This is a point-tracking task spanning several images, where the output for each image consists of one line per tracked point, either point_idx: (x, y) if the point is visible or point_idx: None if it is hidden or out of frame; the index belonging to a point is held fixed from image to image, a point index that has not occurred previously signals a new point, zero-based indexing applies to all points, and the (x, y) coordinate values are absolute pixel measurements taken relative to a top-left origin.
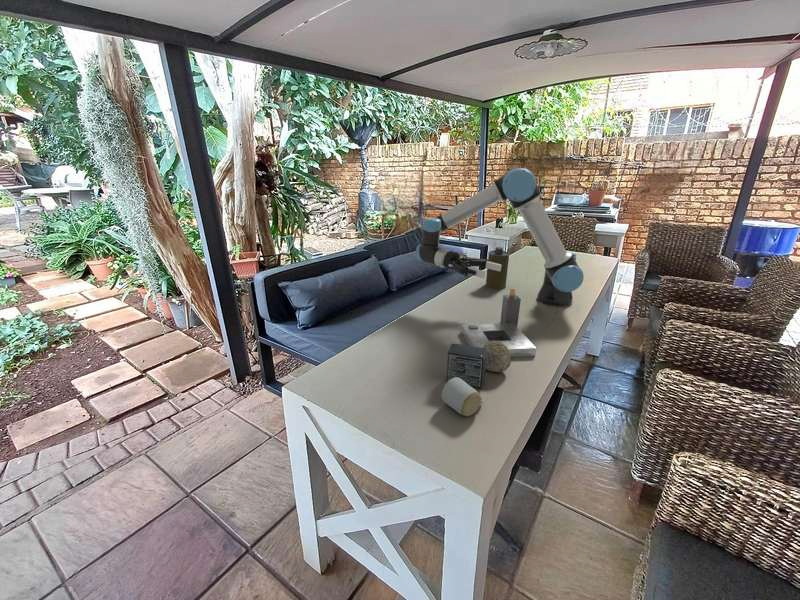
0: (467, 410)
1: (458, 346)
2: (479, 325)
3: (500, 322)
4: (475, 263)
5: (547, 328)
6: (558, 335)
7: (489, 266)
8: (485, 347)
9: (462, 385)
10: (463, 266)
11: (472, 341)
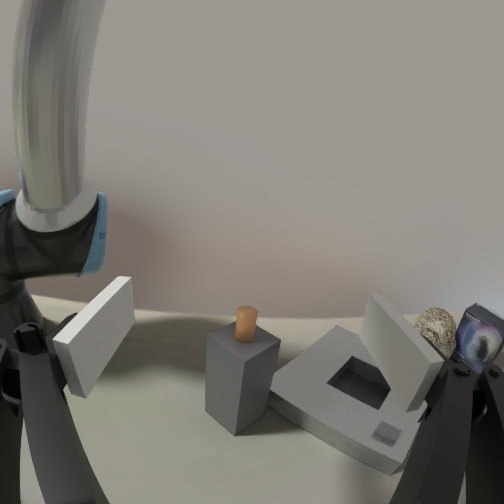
0: None
1: (499, 325)
2: (359, 433)
3: (235, 433)
4: (88, 469)
5: (190, 345)
6: (215, 329)
7: (97, 355)
8: (455, 325)
9: (497, 314)
10: (467, 421)
11: None
